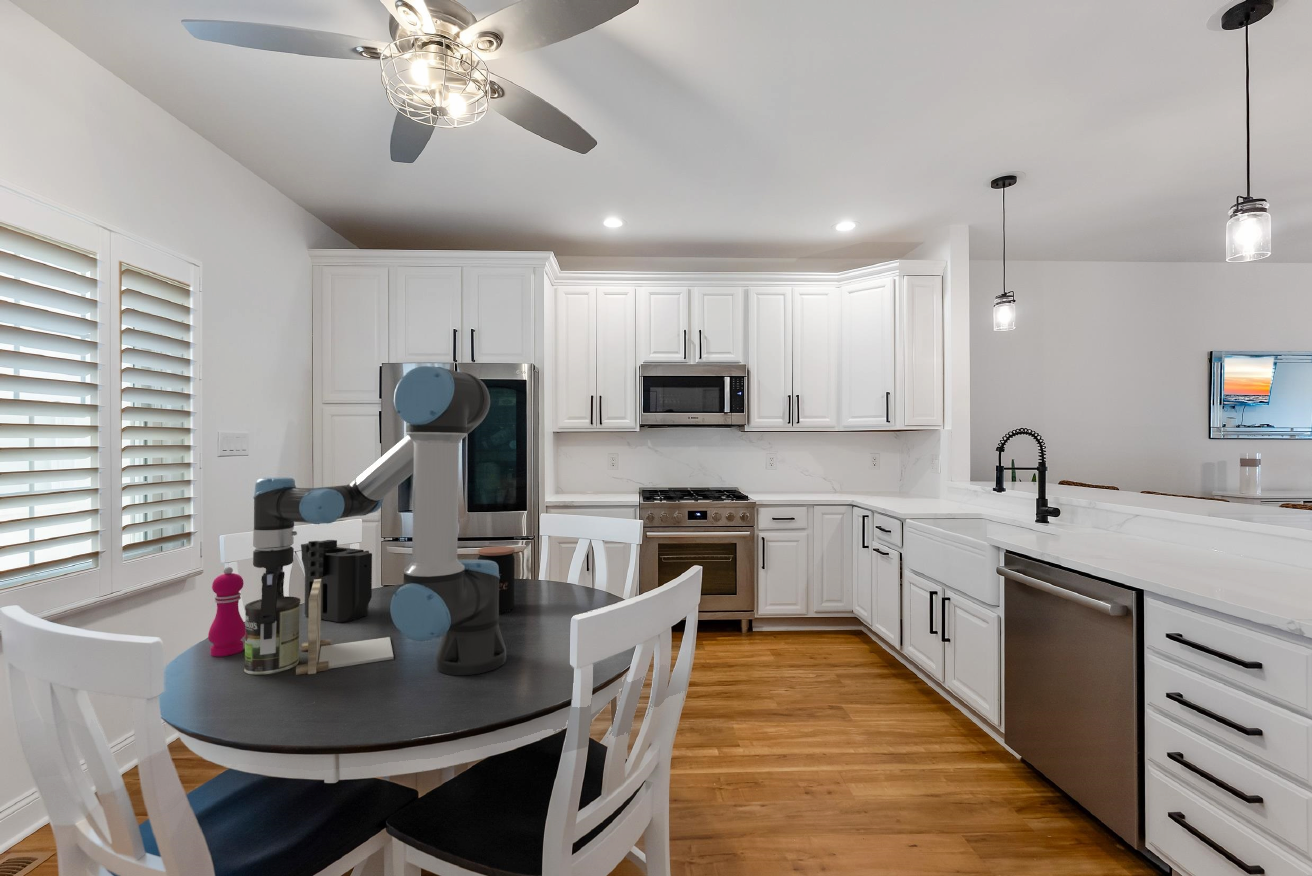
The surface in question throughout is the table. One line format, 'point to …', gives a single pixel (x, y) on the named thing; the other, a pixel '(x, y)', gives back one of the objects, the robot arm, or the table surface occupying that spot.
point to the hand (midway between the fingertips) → (271, 643)
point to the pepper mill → (227, 615)
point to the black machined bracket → (338, 579)
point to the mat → (356, 652)
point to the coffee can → (284, 637)
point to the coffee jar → (502, 572)
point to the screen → (314, 634)
